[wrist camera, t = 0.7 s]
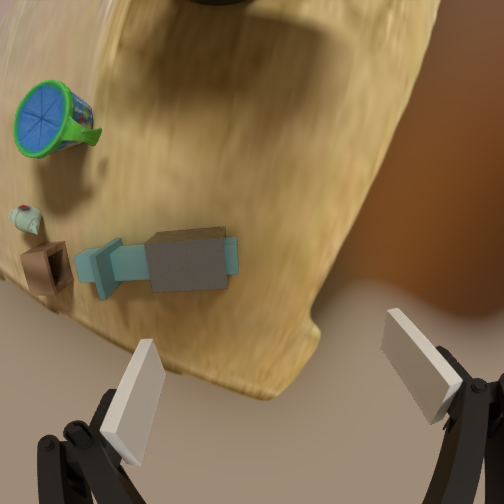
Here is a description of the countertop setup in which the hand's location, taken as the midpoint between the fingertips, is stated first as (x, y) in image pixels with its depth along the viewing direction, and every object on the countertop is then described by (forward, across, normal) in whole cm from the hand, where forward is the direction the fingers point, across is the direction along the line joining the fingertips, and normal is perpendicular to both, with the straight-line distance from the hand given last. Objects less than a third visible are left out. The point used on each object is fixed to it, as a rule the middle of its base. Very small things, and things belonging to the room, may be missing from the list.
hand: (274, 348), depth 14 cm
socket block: (+26, -34, -1) cm, 43 cm away
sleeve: (+27, -9, -2) cm, 28 cm away
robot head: (+27, -36, +8) cm, 46 cm away
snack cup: (+27, -25, +21) cm, 42 cm away
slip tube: (+27, -14, -2) cm, 30 cm away
